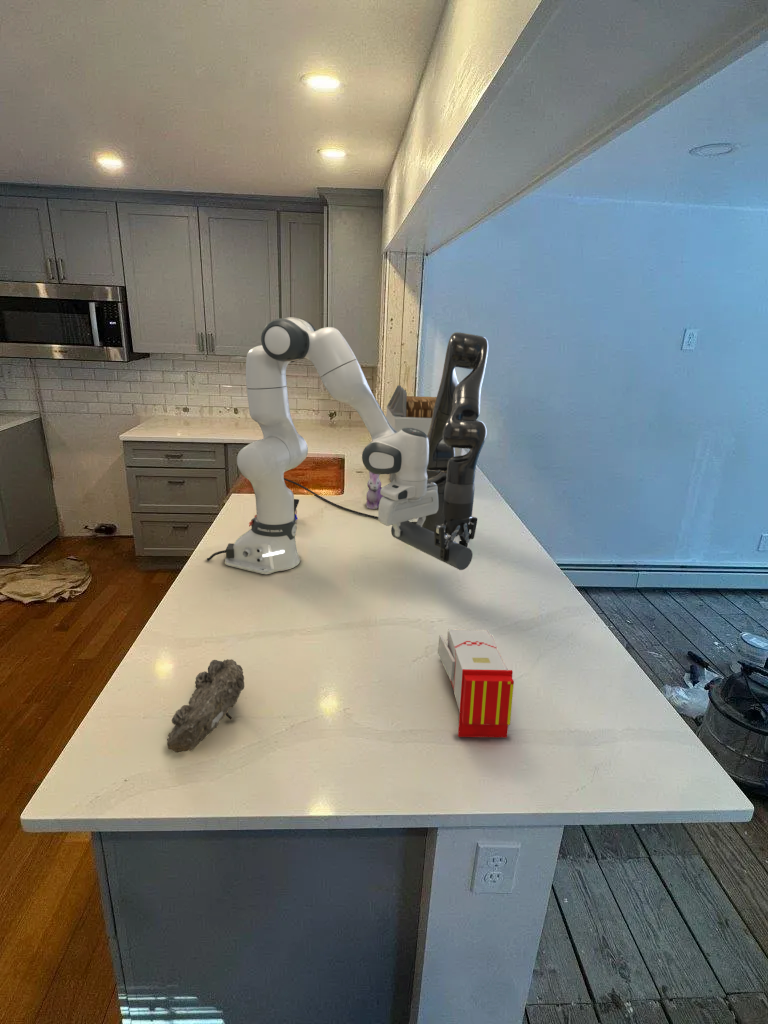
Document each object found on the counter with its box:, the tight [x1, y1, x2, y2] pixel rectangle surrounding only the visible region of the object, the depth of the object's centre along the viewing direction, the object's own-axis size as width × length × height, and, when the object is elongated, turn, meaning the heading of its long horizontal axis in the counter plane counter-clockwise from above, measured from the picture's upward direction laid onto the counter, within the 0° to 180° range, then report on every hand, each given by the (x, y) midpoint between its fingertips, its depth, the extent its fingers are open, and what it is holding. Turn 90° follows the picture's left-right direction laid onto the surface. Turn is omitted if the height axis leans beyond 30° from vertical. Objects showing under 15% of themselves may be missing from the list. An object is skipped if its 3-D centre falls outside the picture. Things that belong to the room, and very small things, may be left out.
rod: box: [390, 520, 473, 571], centre depth 156 cm, size 26×6×6 cm, turn 40°
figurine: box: [365, 471, 383, 510], centre depth 224 cm, size 9×10×15 cm
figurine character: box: [294, 498, 300, 521], centre depth 203 cm, size 7×8×15 cm
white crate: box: [385, 384, 463, 482], centre depth 268 cm, size 34×33×41 cm
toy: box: [437, 628, 515, 738], centre depth 117 cm, size 12×13×30 cm
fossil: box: [166, 658, 245, 754], centre depth 106 cm, size 22×10×15 cm
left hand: (408, 533), depth 162 cm, fingers closed on rod, 6 cm apart
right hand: (453, 557), depth 150 cm, fingers closed on rod, 6 cm apart
